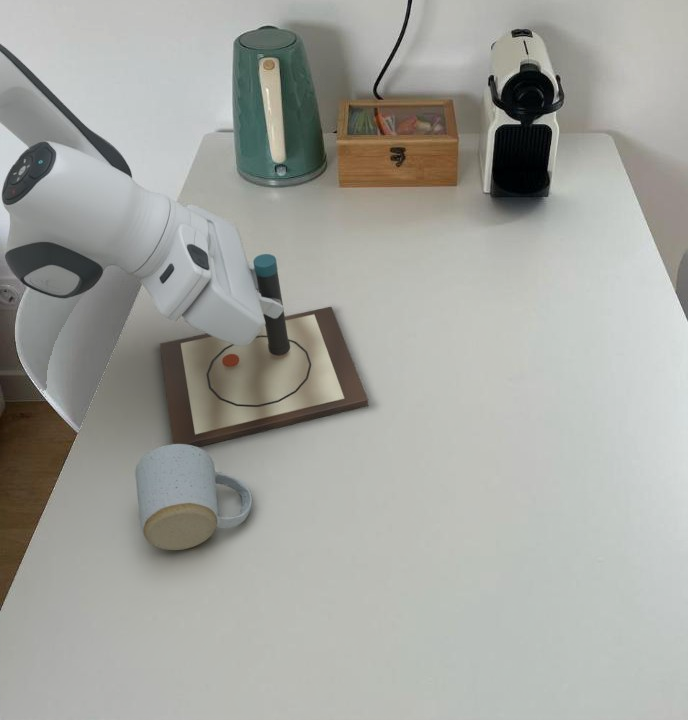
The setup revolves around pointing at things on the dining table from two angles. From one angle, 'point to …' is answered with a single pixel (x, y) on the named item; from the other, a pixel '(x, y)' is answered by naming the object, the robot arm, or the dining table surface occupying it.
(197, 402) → the brown framed board
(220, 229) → the robot arm
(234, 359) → the left eye
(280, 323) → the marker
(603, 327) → the dining table surface
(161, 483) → the ceramic mug
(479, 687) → the dining table surface
